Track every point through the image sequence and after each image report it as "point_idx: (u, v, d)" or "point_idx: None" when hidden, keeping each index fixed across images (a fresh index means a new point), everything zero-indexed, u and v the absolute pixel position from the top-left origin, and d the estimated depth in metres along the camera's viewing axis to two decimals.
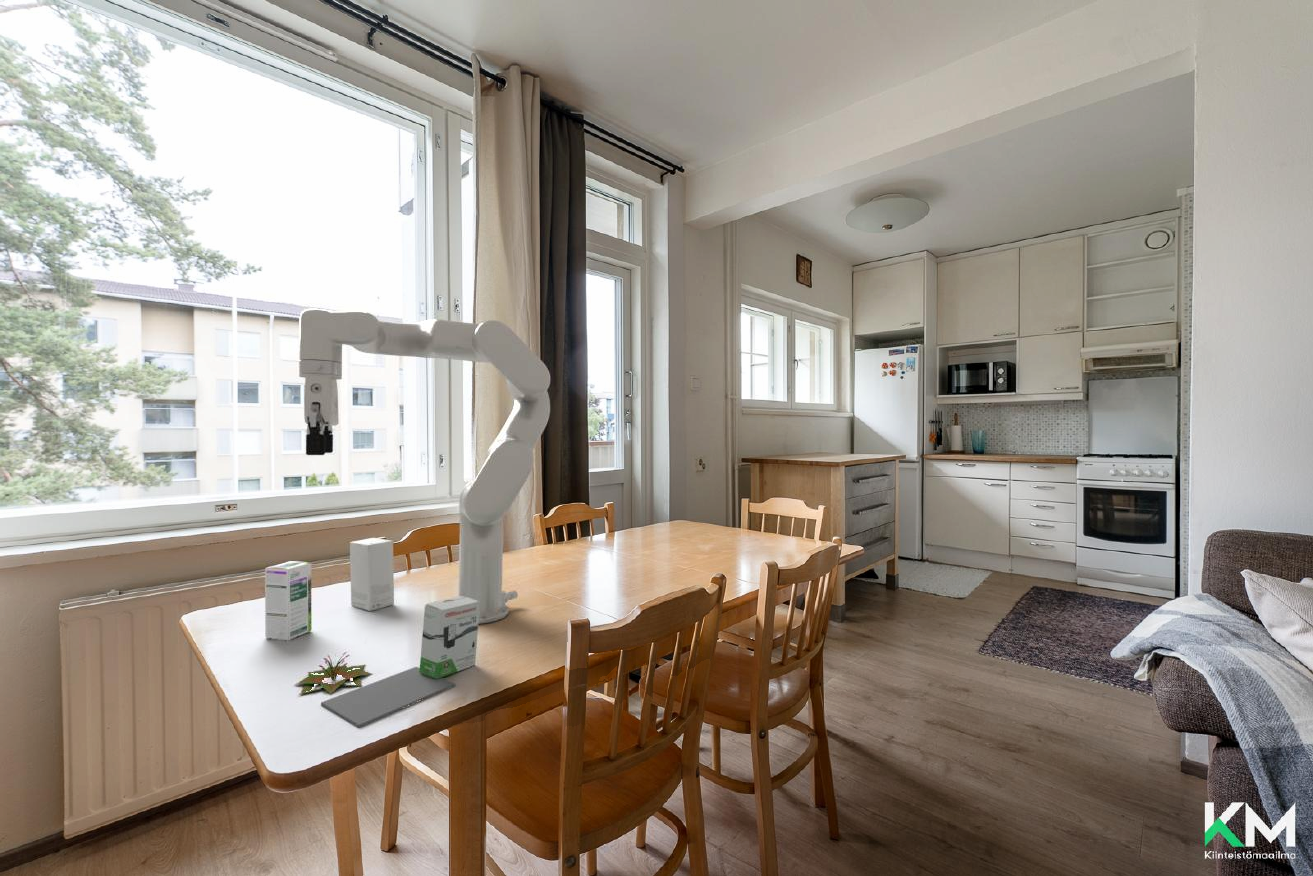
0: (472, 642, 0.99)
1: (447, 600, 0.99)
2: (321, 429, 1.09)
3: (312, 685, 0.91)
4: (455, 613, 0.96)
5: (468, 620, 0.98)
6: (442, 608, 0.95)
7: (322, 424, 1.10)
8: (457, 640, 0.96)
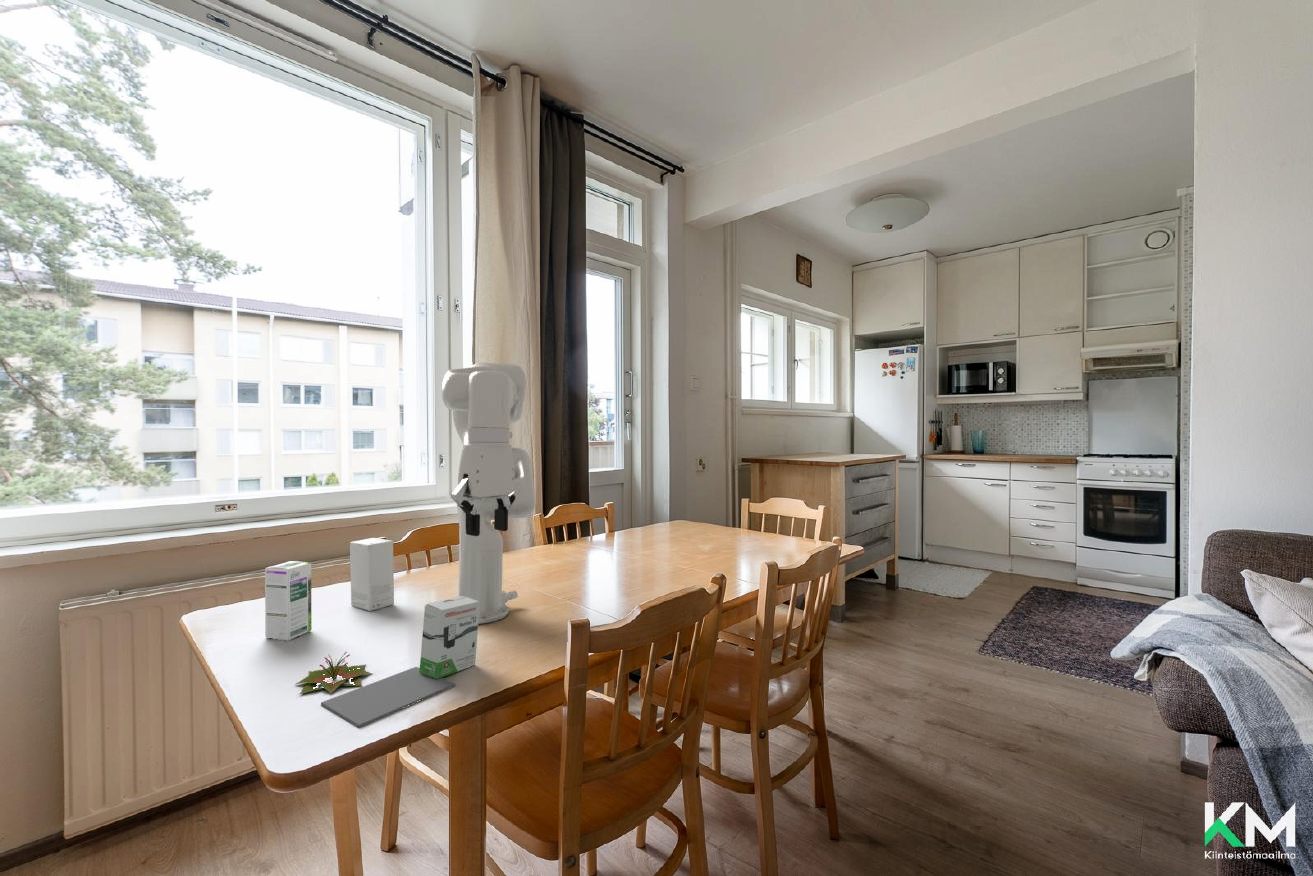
0: (472, 642, 0.99)
1: (447, 600, 0.99)
2: None
3: (312, 684, 0.91)
4: (455, 613, 0.96)
5: (468, 620, 0.98)
6: (443, 608, 0.95)
7: None
8: (457, 640, 0.96)
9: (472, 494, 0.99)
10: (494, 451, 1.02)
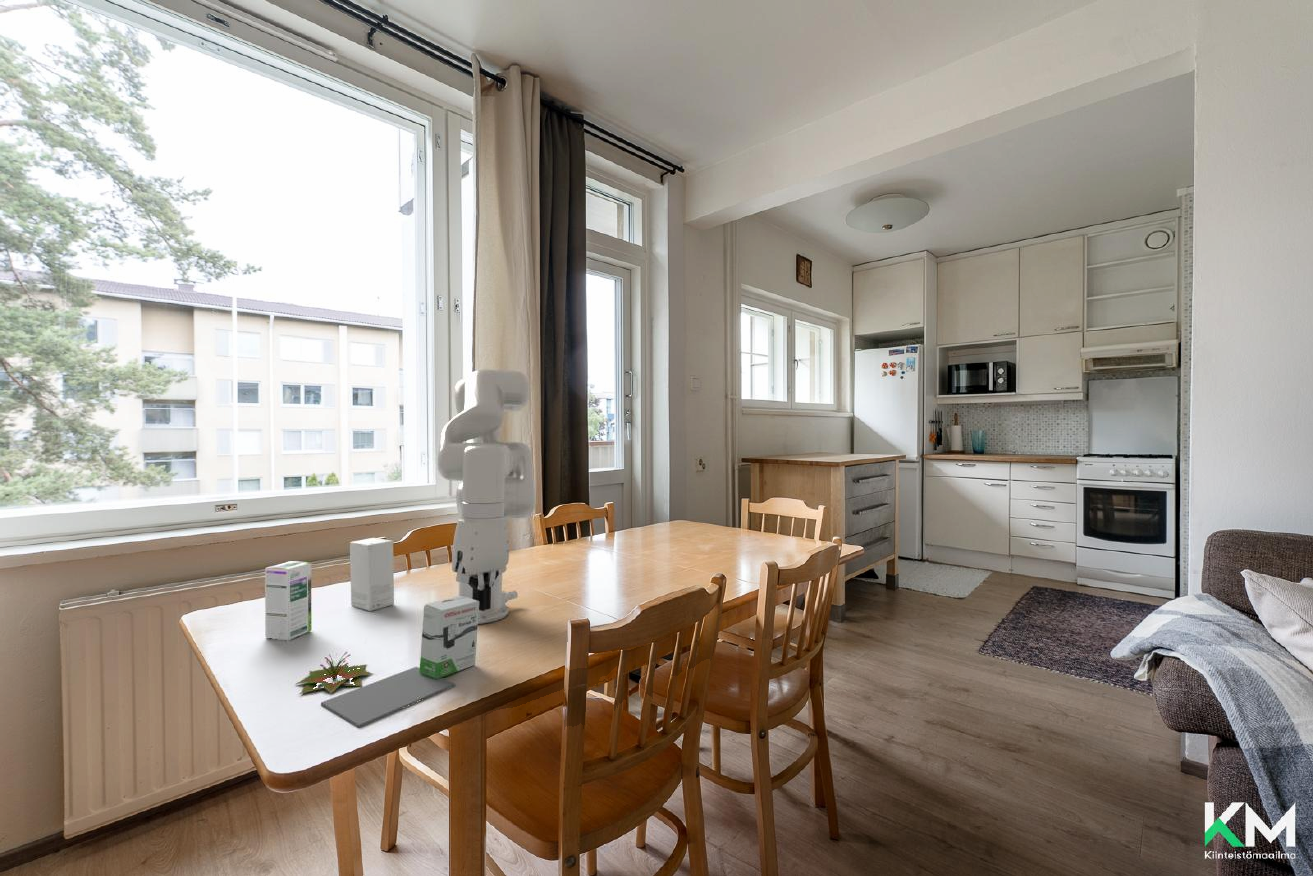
0: (472, 641, 0.99)
1: (446, 600, 0.99)
2: None
3: (313, 684, 0.91)
4: (454, 613, 0.96)
5: (468, 620, 0.98)
6: (442, 608, 0.95)
7: None
8: (457, 640, 0.96)
9: (466, 572, 0.99)
10: (488, 526, 1.01)
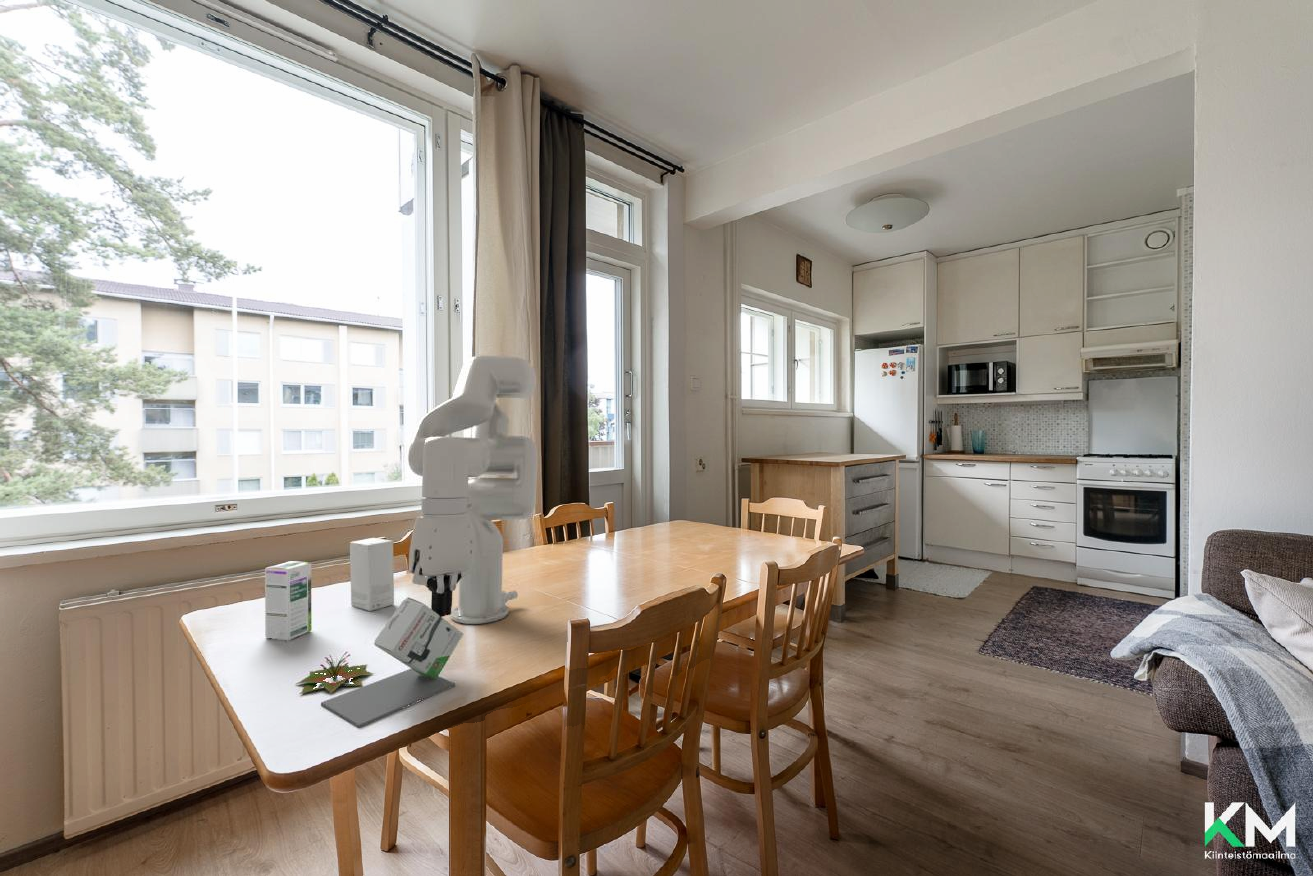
0: (445, 629, 0.94)
1: (392, 620, 0.90)
2: None
3: (313, 684, 0.91)
4: (407, 638, 0.88)
5: (426, 625, 0.91)
6: (391, 645, 0.86)
7: None
8: (429, 645, 0.91)
9: (423, 572, 0.91)
10: (449, 523, 0.94)
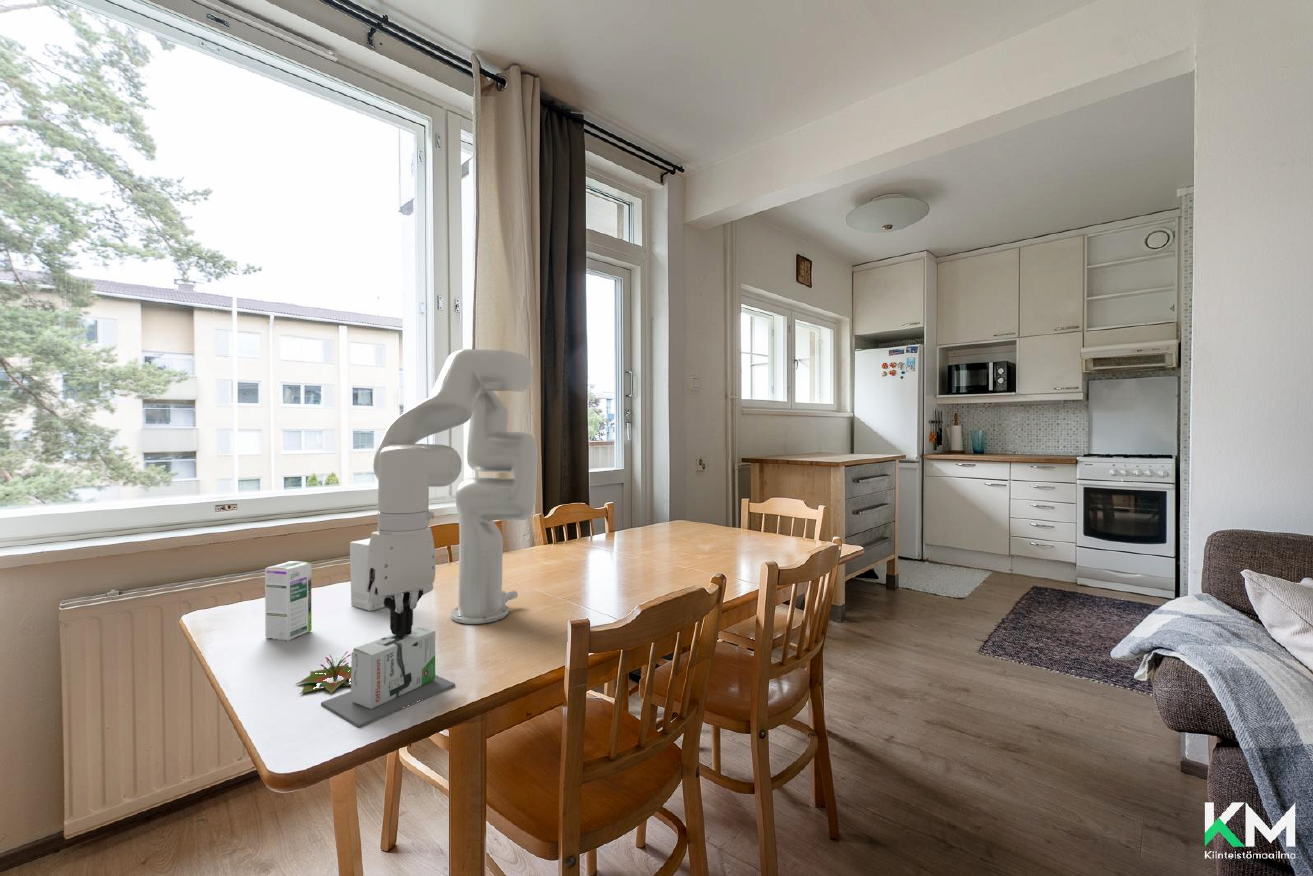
0: (412, 646, 0.89)
1: (354, 676, 0.85)
2: None
3: (313, 684, 0.91)
4: (377, 688, 0.84)
5: (389, 664, 0.85)
6: (367, 703, 0.83)
7: None
8: (406, 670, 0.88)
9: (379, 593, 0.85)
10: (408, 540, 0.88)
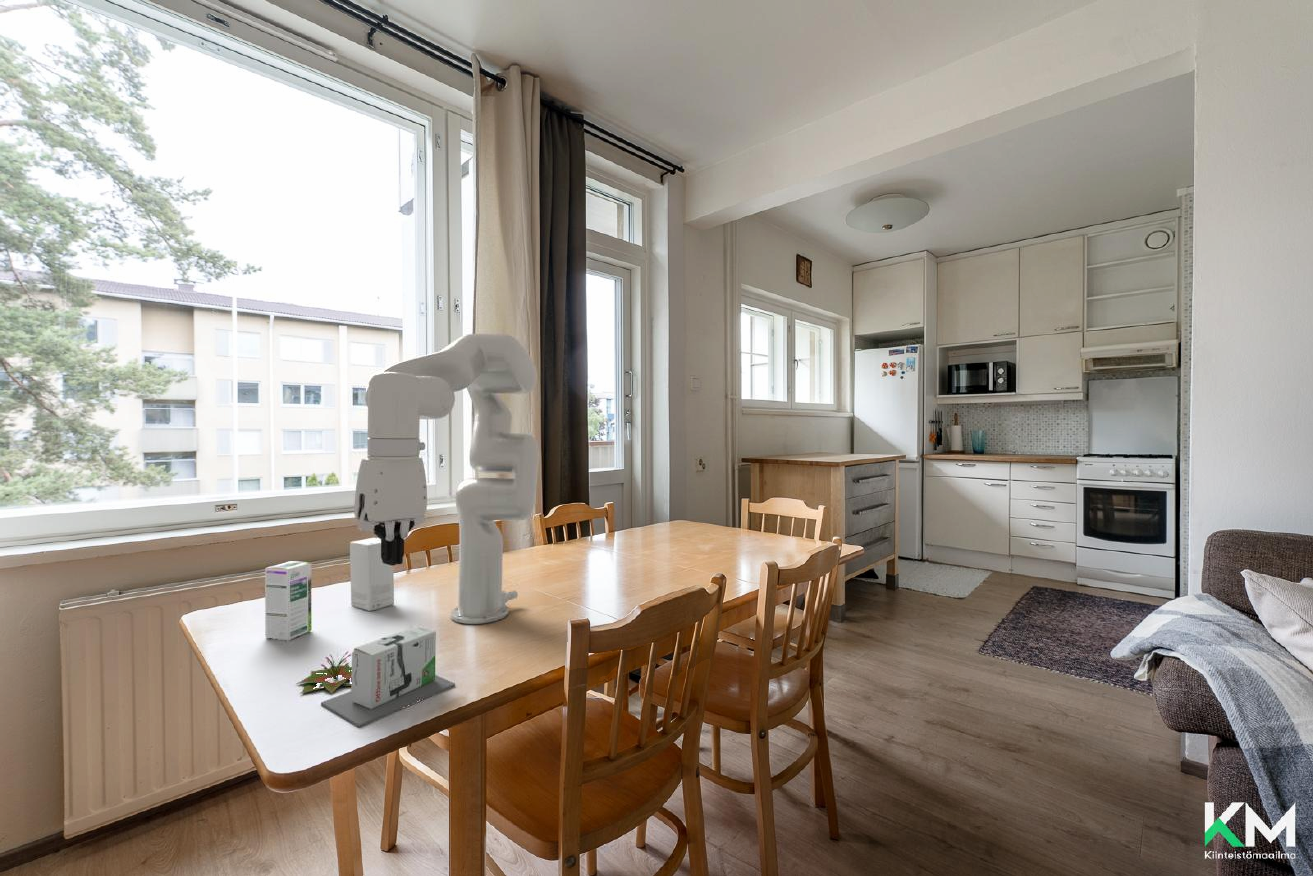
0: (413, 647, 0.89)
1: (354, 675, 0.85)
2: None
3: (314, 684, 0.91)
4: (378, 688, 0.84)
5: (390, 664, 0.85)
6: (367, 703, 0.83)
7: None
8: (406, 670, 0.88)
9: (369, 518, 0.84)
10: (398, 466, 0.87)
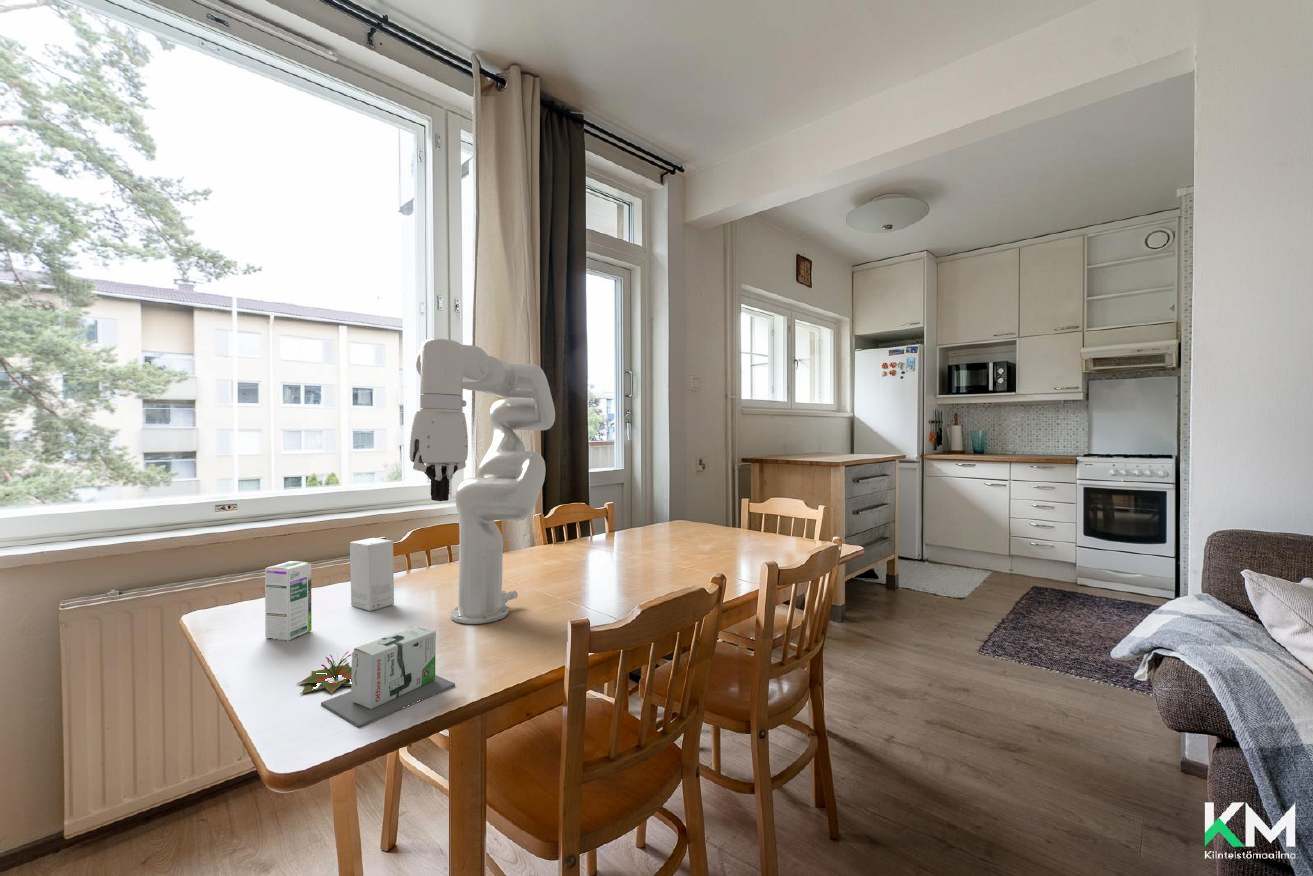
0: (413, 647, 0.89)
1: (354, 675, 0.85)
2: None
3: (314, 684, 0.91)
4: (378, 688, 0.84)
5: (390, 664, 0.85)
6: (367, 703, 0.83)
7: None
8: (406, 670, 0.88)
9: (423, 459, 1.01)
10: (446, 418, 1.04)
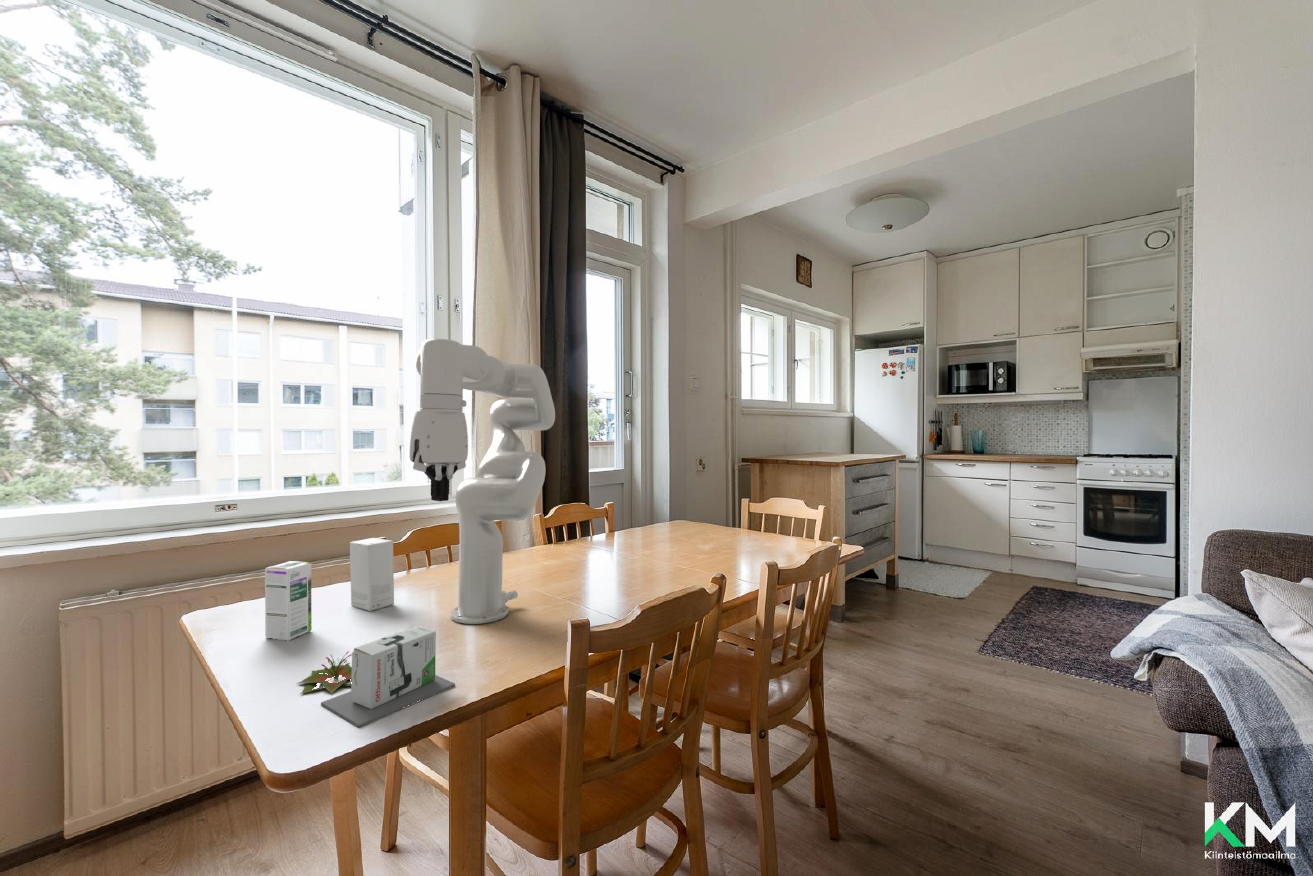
0: (413, 647, 0.89)
1: (354, 675, 0.85)
2: None
3: (314, 684, 0.91)
4: (378, 688, 0.84)
5: (390, 664, 0.85)
6: (367, 703, 0.83)
7: None
8: (406, 670, 0.88)
9: (423, 459, 1.01)
10: (446, 417, 1.04)
